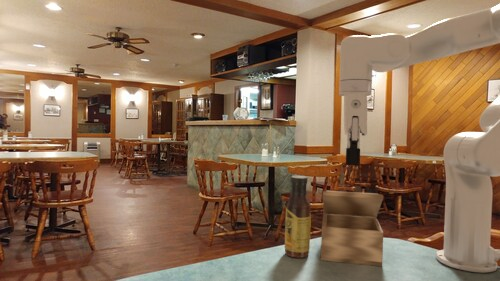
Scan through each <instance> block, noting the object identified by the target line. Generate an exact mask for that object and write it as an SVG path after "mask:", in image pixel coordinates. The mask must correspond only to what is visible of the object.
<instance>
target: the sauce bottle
mask: <svg viewBox="0 0 500 281" xmlns="http://www.w3.org/2000/svg"><path fill="white" fill-rule="evenodd" d="M290 182H291V183H290V184H291V189H290V190H291V191H290V194H289V197H288V200H287V203H286V206H285V219H284V220H285V224H284V253H285V254H286V255H287V256H288V257H290V258H295V259H297V258H299V259H301V258H307V256H309V253H310V242H311V241H310V239H311V221H312V220H311V218H312V217H311V207H312V205H311V202H310V199H309V198H308V195H307V193H308V192H307V185H308V176H305V175H292V176H291V178H290Z"/></svg>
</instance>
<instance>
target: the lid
mask: <svg viewBox="0 0 500 281" xmlns="http://www.w3.org/2000/svg"><path fill="white" fill-rule="evenodd" d="M383 200H384V195H383V194H379V193H375V192H374V193H373V192H360V191H359V192H357V191H356V192H354V191H340V190H339V191H338V190H326V191H325V190H324V191H322V202H323V204H322V206H323V214H333V215H347V216H361V217H374V218H377V217H378V214H379V212H380V208H381V205H382V203H383Z"/></svg>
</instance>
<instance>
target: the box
mask: <svg viewBox="0 0 500 281" xmlns="http://www.w3.org/2000/svg"><path fill="white" fill-rule="evenodd" d="M320 249H321V250H320V252H321V253H320V261H325V262H335V263H344V264H345V263H346V264H354V265H355V264H356V265H363V266H364V265H366V266H376V267H383V252H384V250H383V249H384V231H383V228H382V227H381V224H380V222H379V220H378V219H377V217H366V216H352V215H338V214H324V213H323V216H322V223H321V244H320Z"/></svg>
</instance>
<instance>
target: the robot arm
mask: <svg viewBox="0 0 500 281" xmlns="http://www.w3.org/2000/svg"><path fill="white" fill-rule="evenodd" d="M497 44H500V3H499V4H497V5H495V6H493V7H489V8H485V9H481V10H478V11H473V12H470V13H466V14H465V13H464V14H462V15H458V16H454V17H450V18H445V19H443V20H441V21H438V22H436V23H433V24H432V25H430V26H428V27H426V28H424V29H422V30H419V31H417V32H415V33H413V34H410V35H407V36H405V35H403V34H399V33H385V34H381V35H371V36H368V35H364V34H363V35H361V34H360V35H358V34H357V35H349V36H346V37H344V38H343V39H342V41H341V43H340V49H339V50H340V56H339V85H338V86H339V87H338V89H339V90H338V96H339V97H340V96H341V97H343V127H344V128H343V129H344V135H346V136H347V137H346V138H347V140H346V142H347V143H346V148H345V165H347V166H360V164H361V148H360V145H361V144H360V143H361V136H362V137H366V136H368V97H370V96H372V92H373V91H372V90H373V87H372V86H373V85H372V84H373V71H374V72H376V73H386V72H390V71H394V70H397V69H401V68H406V67H411V66H413V65H418V64H421V63H426V62H430V61H433V60H439V59H444V58H447V57H450V56H451V57H452V56H454V55H455V56H456V55H458V54H461V53H466V52H469V51H474V50H478V49H481V48H486V47H490V46H494V45H497ZM478 123H479V127H480V129H481V130H482V131H464V132H458V133H456V134H454V135H452V136H451V137H450V138H449V139H448V140H447V141H446V142H445V145H444V147H443V148H444V149H443V165H444V169H445V170H444V171H445V202H444V203H445V206H444V226H443V228H444V229H443V230H444V231H443V232H444V233H443V249H440V250H438V251H436V253H435V255H436V259H437V261H439V262H440V263H441V264H443V265H445V266H447V267H450V268H453V269H457V270H461V271H465V272H472V273H481V274H483V273H484V274H485V273H486V274H487V273H492V272H495V271H496V270H497V269H498V261H499V260H500V249H499V248H498V249H495V248H494V247H492V246H491V236H492V234H491V233H492V232H491V231H492V213H493V212H492V211H493V193H494V192H493V184H492V180H491V177H492V178H493V177H495V178H496V177H500V94H499V95H498V96H497V97H496V98H495V99H494V100H493V101H492V102H490V104H489V105H487V107H486V108H485V109H484V110H483V111H482V112H481V115H480V117H479V122H478Z"/></svg>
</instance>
